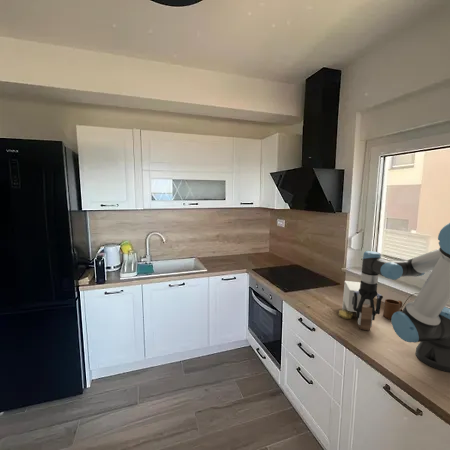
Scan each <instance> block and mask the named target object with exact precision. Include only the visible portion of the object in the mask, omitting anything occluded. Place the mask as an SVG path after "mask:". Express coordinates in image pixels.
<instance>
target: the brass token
mask: <svg viewBox="0 0 450 450" xmlns="http://www.w3.org/2000/svg"><path fill="white" fill-rule="evenodd" d="M353 315H354V313H353V312H352V311H348V310H344V309H339V311H338V316H339V317H340V318H342V319H345V320H351V319H353Z"/></svg>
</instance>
